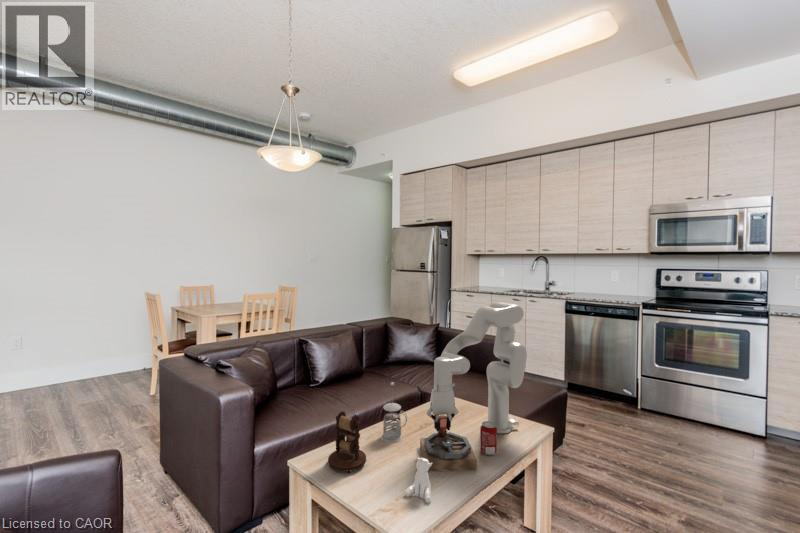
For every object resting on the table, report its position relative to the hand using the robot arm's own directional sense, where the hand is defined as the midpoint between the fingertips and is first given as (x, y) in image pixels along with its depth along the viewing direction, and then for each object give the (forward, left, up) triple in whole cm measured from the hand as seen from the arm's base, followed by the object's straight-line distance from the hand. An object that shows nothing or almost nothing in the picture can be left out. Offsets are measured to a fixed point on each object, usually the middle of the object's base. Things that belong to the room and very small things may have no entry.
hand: (442, 429), depth 161 cm
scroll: (+39, +11, -9) cm, 42 cm away
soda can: (-19, +4, -9) cm, 21 cm away
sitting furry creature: (+12, +30, -9) cm, 33 cm away
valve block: (-1, +8, -8) cm, 11 cm away
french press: (+20, -10, -9) cm, 24 cm away
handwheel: (-1, +8, -4) cm, 9 cm away
